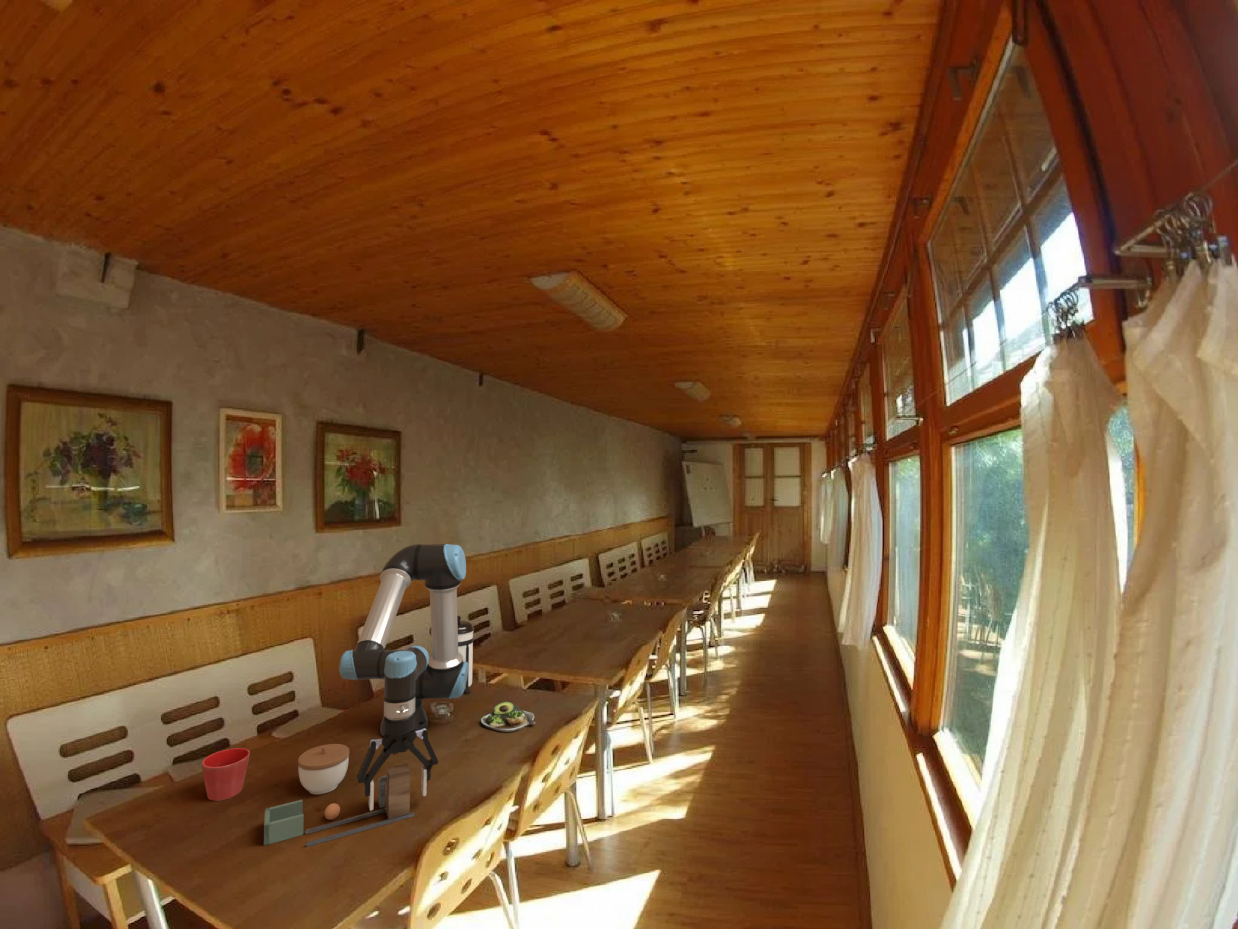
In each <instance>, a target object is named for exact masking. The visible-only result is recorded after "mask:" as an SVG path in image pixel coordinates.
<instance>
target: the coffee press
mask: <svg viewBox="0 0 1238 929" xmlns="http://www.w3.org/2000/svg"><path fill="white" fill-rule="evenodd" d="M457 623H458V652H459V653H460V654H462V656H463V662H464V661H465V662H468V665H469V668H468V676H467V681H466V686H465V690H464V692H463V693H465V695H469V694H470V693H471V690H470V687H471V686H472V685H473V664H474V662H473V661H474V660H473V659H474V658H473V657H474V656H473V655H474V654H473V651H474V646H473V645H474V630H475V626H474V625H473V623H472V622H470V621H468V620H462V617H461V616H460V615H457Z"/></svg>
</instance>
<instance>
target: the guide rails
mask: <svg viewBox="0 0 1238 929" xmlns="http://www.w3.org/2000/svg"><path fill="white" fill-rule="evenodd" d="M385 813H386V807H383V808H380V809H377V810H374V811H373V810H372V811H369V812H366V813H362V814H358V815H355V816H350V817H347V818H343V819H340V820H336V821H333V822H329V823H325V824H321V825H318V826H315V827H314V826H313V827H311V828H307V829H305V835H309V834H311V833H317V832H319V831H323V830H327V829H330V828H331V829H332V828H334V827H338V826H341V825H345V824H348V823H351V822H352V823H353V822H356V821H359V820H363V819H366V818H371V817H374V816H378V815H382V814H385ZM413 817H415V811H412V812H410V813H408V814H404V815H401V816H397V817H394V818H390V819H388V818H387V819H383V820H380V821H377V822H373V823H369V824H366V825H363V826H359V827H358V826H357V827H355V828H352V829H348V830H344V831H342V832H341V831H340V832H337V833H335V834H334V833H333V834H330V835H327V836H322V837H320V838H319V837H318V838H317V839H313V840H309V841H306V845H305V847H307V848H308V847H311V846H315V845H319V844H322V843H326V842H328V841H333V840H335V839H339V838H342V837H346V836H349V835H354V834H357V833H360V832H363V831H367V830H371V829H374V828H378V827H381V826H382V827H383V826H384V825H389V824H392V823H395V822H399V821H403V820H405V819H409V818H413Z"/></svg>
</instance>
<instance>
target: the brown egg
mask: <svg viewBox="0 0 1238 929" xmlns="http://www.w3.org/2000/svg"><path fill="white" fill-rule="evenodd" d="M340 813H341V807H340V805H339V804H338V803H335V802H333V803H330V804H329V805H327V806H326V808H325V809H324V817H325V818H326V819H327V820H330V821H331V820H335V819H336V818H337V817H338V816H339V814H340Z"/></svg>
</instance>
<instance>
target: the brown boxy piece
mask: <svg viewBox="0 0 1238 929" xmlns="http://www.w3.org/2000/svg"><path fill="white" fill-rule="evenodd" d="M377 784H378V785H377V803H378V805H379V808H380V809H383V808H386V812H385V813H386V816H387V819H390V818H394V817H397V816H401V815H404V814H408V813H411V812H410V811H411V810H410V809H411V808H410V807H411V768H410V766H409V764H408V763H404V764H400V765H395V766H391V767H387V768H386V774H385V775H382V776H379V778H378V781H377Z"/></svg>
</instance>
